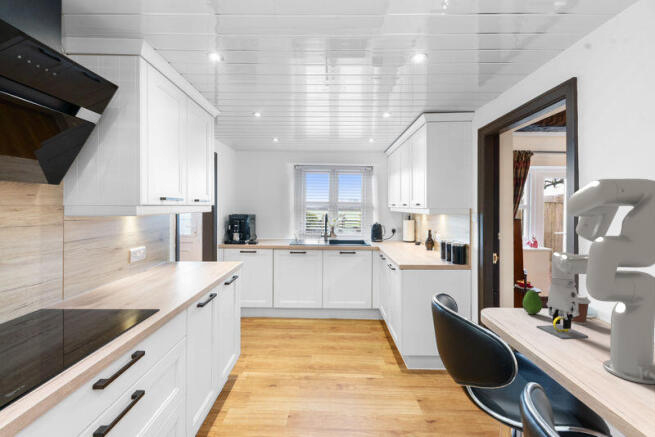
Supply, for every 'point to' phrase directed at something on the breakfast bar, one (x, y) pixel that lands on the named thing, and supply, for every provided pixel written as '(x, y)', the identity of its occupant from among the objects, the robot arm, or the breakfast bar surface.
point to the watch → (556, 321)
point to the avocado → (532, 302)
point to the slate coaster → (562, 332)
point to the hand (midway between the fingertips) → (561, 325)
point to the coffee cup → (581, 310)
